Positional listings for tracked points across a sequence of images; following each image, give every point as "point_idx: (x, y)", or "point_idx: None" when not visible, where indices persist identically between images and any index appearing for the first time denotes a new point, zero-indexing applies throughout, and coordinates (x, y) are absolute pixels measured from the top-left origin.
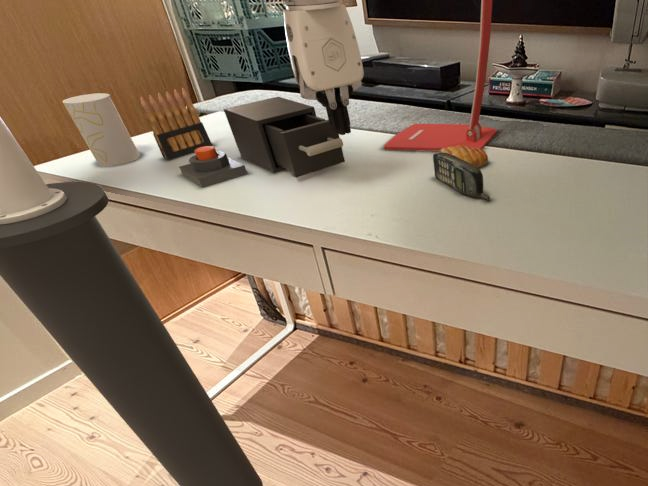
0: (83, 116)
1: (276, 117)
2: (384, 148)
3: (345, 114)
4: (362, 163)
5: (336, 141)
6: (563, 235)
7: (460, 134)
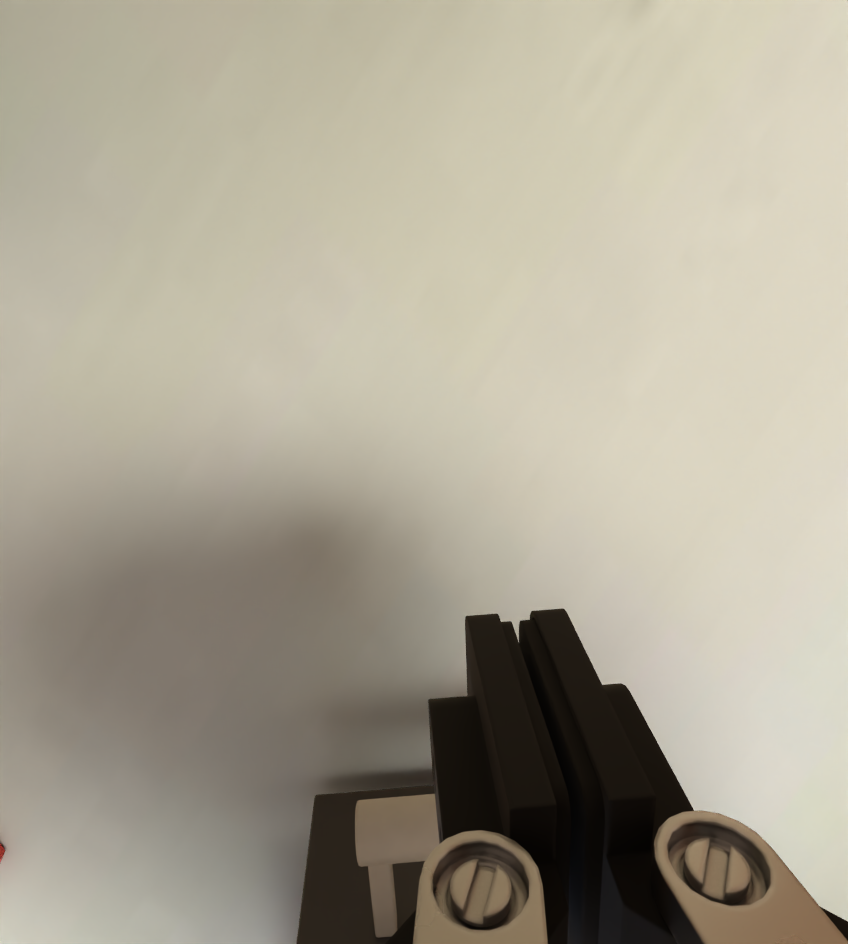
0: None
1: None
2: (3, 853)
3: (520, 736)
4: (221, 756)
5: (402, 829)
6: None
7: None
